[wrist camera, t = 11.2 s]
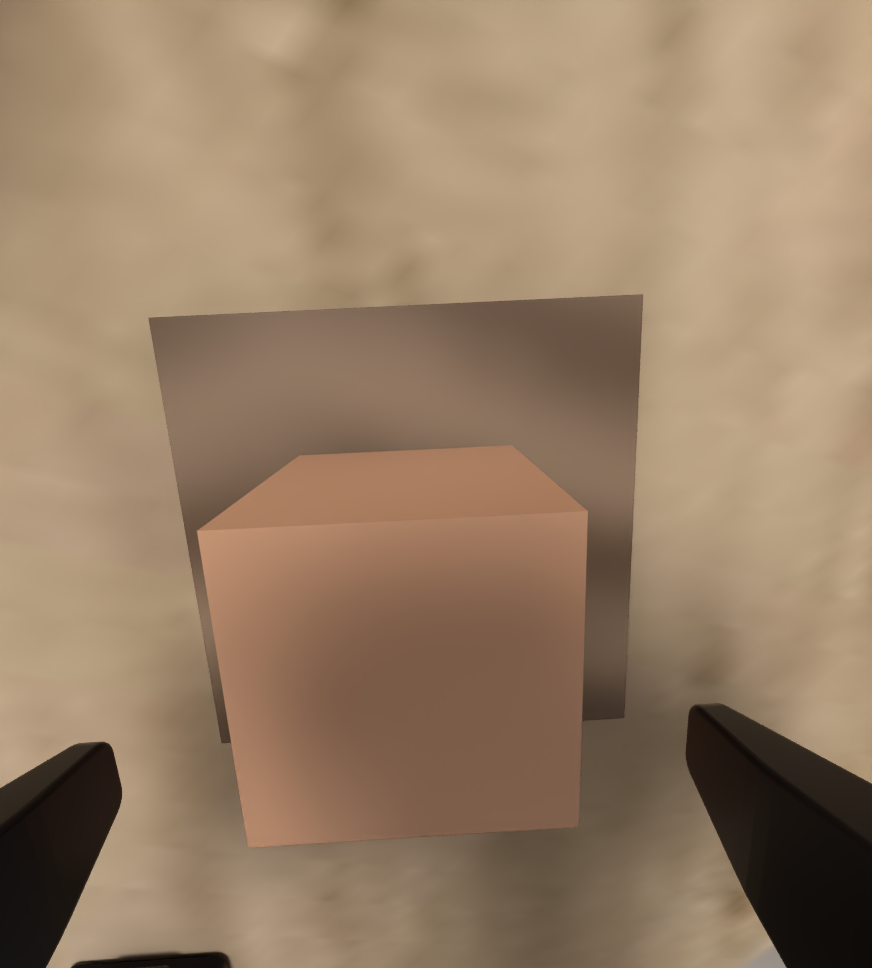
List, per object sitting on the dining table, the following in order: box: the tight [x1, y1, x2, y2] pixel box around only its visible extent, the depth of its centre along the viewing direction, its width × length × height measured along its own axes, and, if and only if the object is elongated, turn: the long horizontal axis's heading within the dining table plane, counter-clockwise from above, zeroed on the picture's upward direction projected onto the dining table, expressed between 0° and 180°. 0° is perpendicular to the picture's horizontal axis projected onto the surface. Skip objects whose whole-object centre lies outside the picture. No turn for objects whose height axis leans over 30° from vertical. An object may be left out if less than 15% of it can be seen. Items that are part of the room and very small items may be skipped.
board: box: [149, 294, 643, 743], centre depth 16 cm, size 14×14×1 cm
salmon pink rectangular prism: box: [197, 445, 588, 848], centre depth 12 cm, size 6×6×7 cm
